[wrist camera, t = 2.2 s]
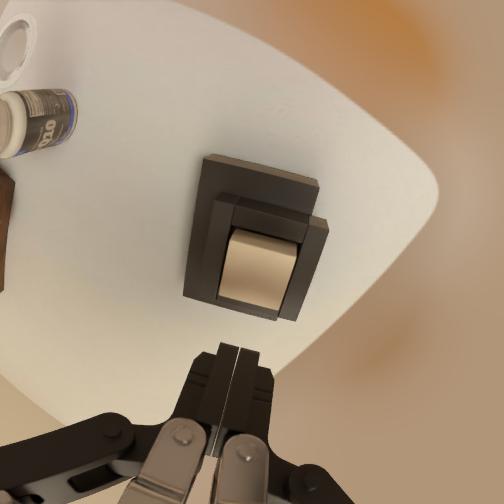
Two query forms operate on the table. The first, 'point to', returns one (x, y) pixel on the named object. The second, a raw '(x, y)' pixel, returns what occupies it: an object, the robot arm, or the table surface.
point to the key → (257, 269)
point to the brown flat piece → (4, 218)
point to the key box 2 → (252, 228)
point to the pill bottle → (35, 120)
